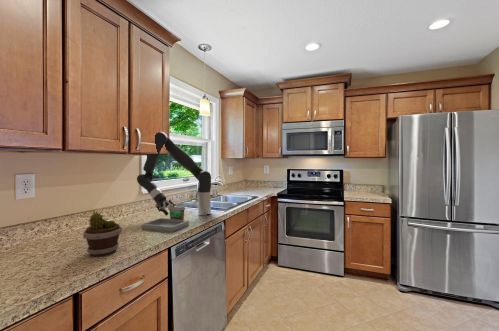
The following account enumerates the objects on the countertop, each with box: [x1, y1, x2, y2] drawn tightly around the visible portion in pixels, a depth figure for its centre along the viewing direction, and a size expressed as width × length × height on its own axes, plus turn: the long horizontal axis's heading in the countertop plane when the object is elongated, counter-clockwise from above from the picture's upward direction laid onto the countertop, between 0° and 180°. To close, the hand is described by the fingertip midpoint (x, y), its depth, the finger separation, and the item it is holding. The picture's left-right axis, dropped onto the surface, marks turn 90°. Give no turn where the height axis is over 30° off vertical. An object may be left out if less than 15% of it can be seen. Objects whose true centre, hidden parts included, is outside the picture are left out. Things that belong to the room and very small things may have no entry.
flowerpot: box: [82, 210, 123, 257], centre depth 108 cm, size 14×15×20 cm
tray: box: [141, 217, 190, 233], centre depth 149 cm, size 16×22×3 cm
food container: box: [168, 206, 186, 220], centre depth 163 cm, size 12×6×10 cm, turn 71°
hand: (171, 213), depth 164 cm, fingers open, 8 cm apart
